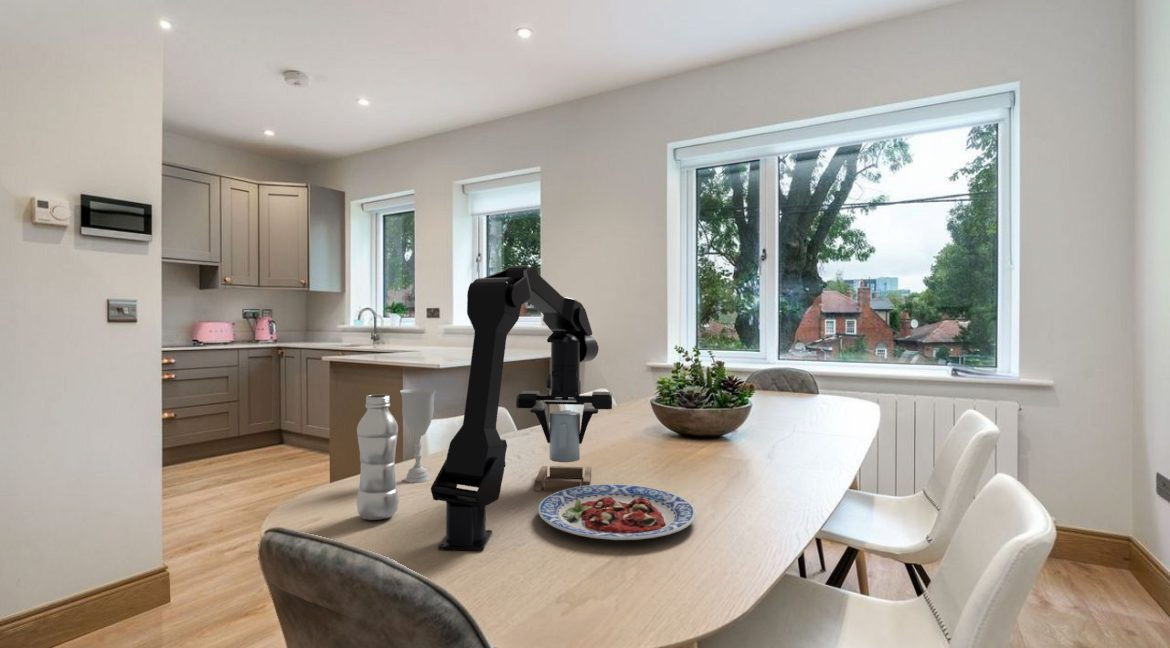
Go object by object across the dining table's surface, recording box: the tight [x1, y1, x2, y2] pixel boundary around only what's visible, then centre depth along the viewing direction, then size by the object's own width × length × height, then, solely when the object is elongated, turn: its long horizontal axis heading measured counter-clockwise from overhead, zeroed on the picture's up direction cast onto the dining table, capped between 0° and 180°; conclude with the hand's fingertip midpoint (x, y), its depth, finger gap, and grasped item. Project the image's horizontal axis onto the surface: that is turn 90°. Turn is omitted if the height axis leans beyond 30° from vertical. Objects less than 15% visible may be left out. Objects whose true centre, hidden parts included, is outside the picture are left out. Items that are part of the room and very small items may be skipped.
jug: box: [549, 409, 581, 463], centre depth 111 cm, size 6×10×9 cm, turn 177°
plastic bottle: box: [356, 394, 400, 521], centre depth 92 cm, size 6×7×20 cm
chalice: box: [399, 388, 437, 484], centre depth 114 cm, size 7×7×18 cm
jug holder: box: [534, 465, 592, 492], centre depth 112 cm, size 10×10×2 cm
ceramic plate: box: [537, 483, 697, 541], centre depth 92 cm, size 26×26×3 cm
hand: (564, 443), depth 112 cm, fingers closed on jug, 6 cm apart
